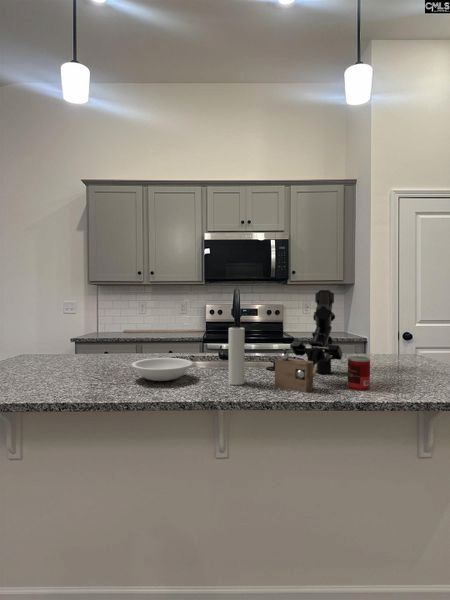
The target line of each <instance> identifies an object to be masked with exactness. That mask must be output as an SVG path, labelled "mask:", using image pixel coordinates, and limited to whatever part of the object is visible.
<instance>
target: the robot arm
mask: <svg viewBox="0 0 450 600" xmlns="http://www.w3.org/2000/svg"><path fill="white" fill-rule="evenodd" d="M314 297H315V304H316V308H315V311H314V312H313V321H315V325H316V328H315V330H314V332H312V333H311V335H312V338H311V340H309V342H308V344H305V345H304V342H303V341H297V340H296V341H292V343H291V345H290V347H291V350H292V351H293V354H294V355H295V356H300V357H301V356H302V357H303V356H305V355H306V357H307V361H313V366H314V367H315V369H316V374H319V375H331V374H335V372H334V371H332V360H334V361H335V360H339V361H340V360H342V358H343V351H342V349H341V346H340V345H339V344H333V338H332V337H331V331H332V329H333V327H332V322H334V321H335V319H336V315H335V313H334V312H332V311H333V310H332V309H333V304H334V303H335V293H333V292H332V291H331V289H320V290H318V291H317V292H316V293H315V296H314Z"/></svg>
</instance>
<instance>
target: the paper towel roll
mask: <svg viewBox="0 0 450 600" xmlns="http://www.w3.org/2000/svg"><path fill="white" fill-rule="evenodd" d="M245 329H246V328H245V327H242V326H241V327H240V326H234V327H229V328H228V384H229V385H233V386H240V385H244V384H245Z"/></svg>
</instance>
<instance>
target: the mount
mask: <svg viewBox="0 0 450 600" xmlns="http://www.w3.org/2000/svg"><path fill="white" fill-rule="evenodd" d="M299 370H305V377H304V378H301V379H300V378H298V377H297V376H296V373H297V371H299ZM274 388H277V389H278V388H279V389H284V390H289V391H296V392H300V393H308V392H310V391H312V390H314V377H313V361H308V360H305V359H295V358H289V360H288V361H282V360H281V358H278V359H275V360H274Z"/></svg>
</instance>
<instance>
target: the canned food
mask: <svg viewBox="0 0 450 600" xmlns="http://www.w3.org/2000/svg"><path fill="white" fill-rule="evenodd" d="M370 381H371V358H370V357H367V356H361V355H353V356H348V357H347V386H348V388H349V389H351V390H355V391H367V390H369V389H370V387H371V382H370Z"/></svg>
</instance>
